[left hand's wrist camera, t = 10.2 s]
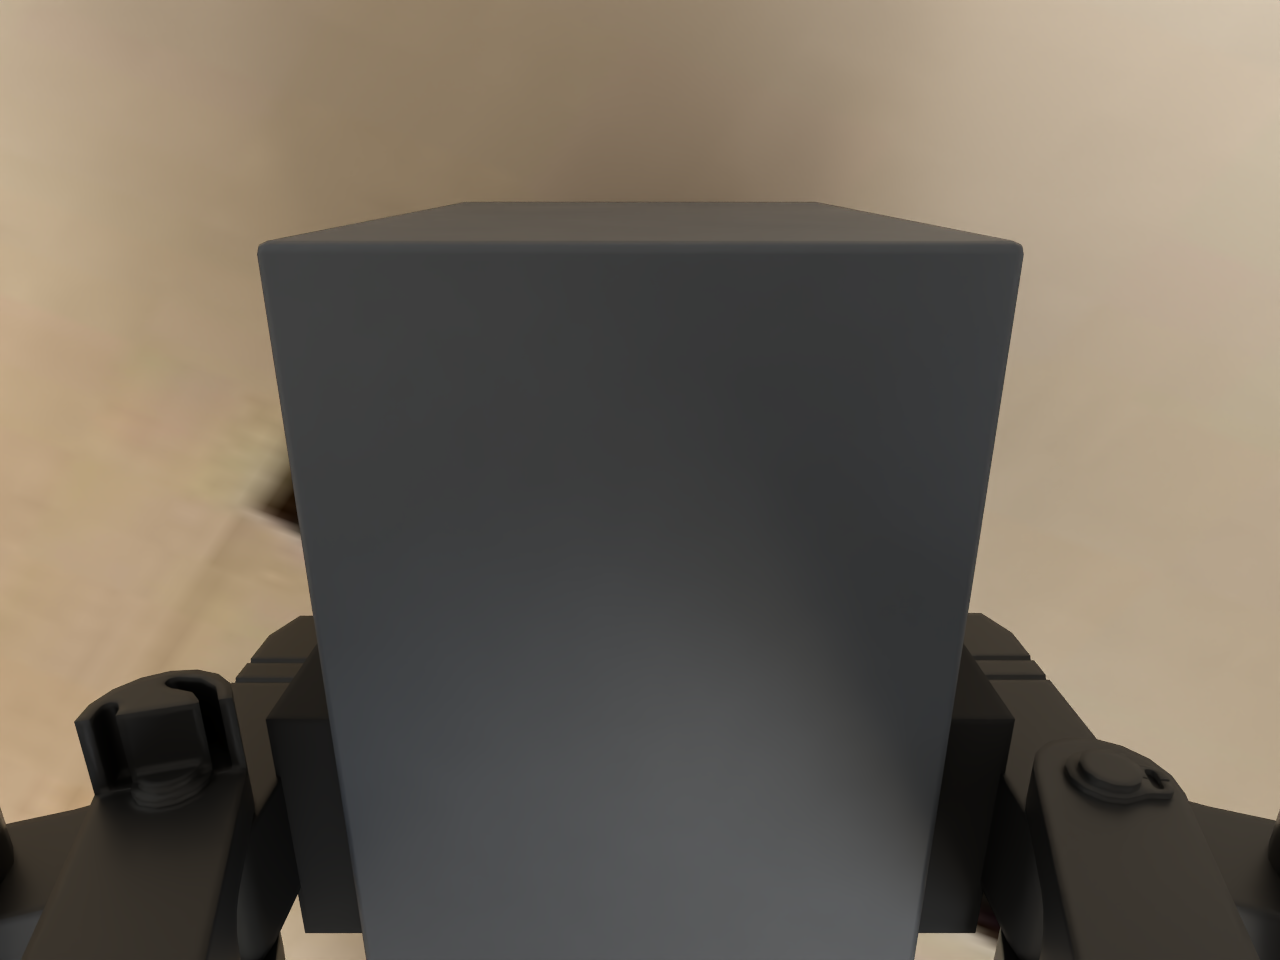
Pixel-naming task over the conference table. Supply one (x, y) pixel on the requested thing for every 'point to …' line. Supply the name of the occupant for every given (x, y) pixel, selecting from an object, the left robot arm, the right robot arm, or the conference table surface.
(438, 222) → the post
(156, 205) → the conference table surface
